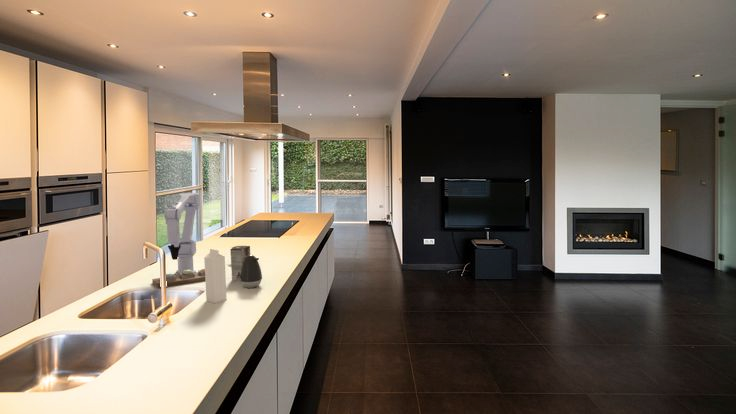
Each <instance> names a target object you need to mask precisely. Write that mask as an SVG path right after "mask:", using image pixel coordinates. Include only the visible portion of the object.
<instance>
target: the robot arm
mask: <svg viewBox="0 0 736 414" xmlns="http://www.w3.org/2000/svg"><path fill="white" fill-rule="evenodd" d="M200 202H201V197H200V194H199V193H198V192H188V193H186V192H180V194H179V195H178V201H175V202H174V203H173V204H172V205H171V207H170V208H167V209H165V211H164V213H163V214H164V220H165V224H166V230H167V231H166V234H167V242H166V243H167V244H168V245H167V248H168V250H169V252H170V256H171V260H173V261H174V260H176V261H177V270H176V271H175V272H176V273H178V274H179V275H180V273H183V270H191V271H192V272H193V273H196V272H197V271H196V270H195V268H194V256H195V254H196V253H197V243H196V241H195V240H194V239H192V237H193V230H194V223H195V218H196V217H195V216H196V211H197V210H199V208H200V204H201V203H200ZM184 211H185V213H184V221H183V228H182V233H181V231H180V220H181V218H182V213H183V212H184ZM180 234H181V235H180Z"/></svg>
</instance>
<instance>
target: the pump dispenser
mask: <svg viewBox="0 0 736 414" xmlns="http://www.w3.org/2000/svg"><path fill="white" fill-rule="evenodd" d="M259 259H260V258H259V257H256V256H255V255H253V254H250V255H248V256H246V257H245V259H244V261H243V263H242V267H241V272H240V283H241V285H242V286H243V287H244V288H247V289H253V288H257V287H258V286H260V284H261V283H262V280H263V274H262V269H261V265H260V262H259Z"/></svg>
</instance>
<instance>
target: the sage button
mask: <svg viewBox="0 0 736 414" xmlns="http://www.w3.org/2000/svg"><path fill="white" fill-rule="evenodd" d="M188 274H192V271H191V270H183V275H188Z"/></svg>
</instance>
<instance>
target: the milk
mask: <svg viewBox="0 0 736 414" xmlns="http://www.w3.org/2000/svg"><path fill="white" fill-rule="evenodd" d="M225 257H226V256H225V255H223V254H220V253H219V250H218V249H215V248H214V249H212V248H210V249H209V253H208V254H206V255H205V256H204V258H203V259H204V269H205V281H204V282H205V296H206V297H205V298H206V300H205V301H206V302H208V303H212V304H216V303H220V302H224V301H227V282H226V280H227V278H226V258H225Z"/></svg>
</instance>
